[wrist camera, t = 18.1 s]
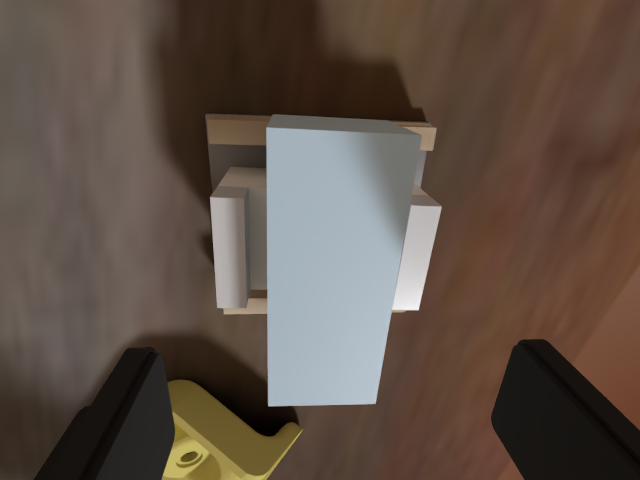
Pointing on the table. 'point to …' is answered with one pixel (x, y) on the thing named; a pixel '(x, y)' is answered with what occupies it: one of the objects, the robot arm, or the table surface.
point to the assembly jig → (250, 151)
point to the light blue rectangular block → (333, 253)
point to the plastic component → (219, 440)
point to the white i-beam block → (251, 240)
